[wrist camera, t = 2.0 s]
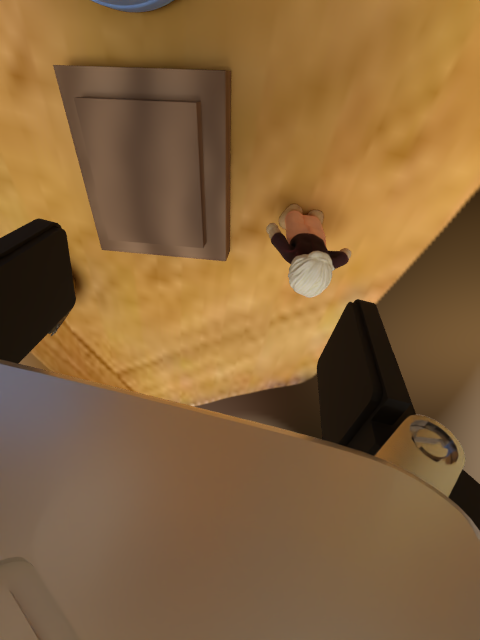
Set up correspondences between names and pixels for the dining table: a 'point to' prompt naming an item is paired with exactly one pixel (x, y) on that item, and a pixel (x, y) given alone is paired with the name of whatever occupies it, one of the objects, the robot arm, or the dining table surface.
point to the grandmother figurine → (306, 250)
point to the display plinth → (213, 141)
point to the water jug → (133, 4)
